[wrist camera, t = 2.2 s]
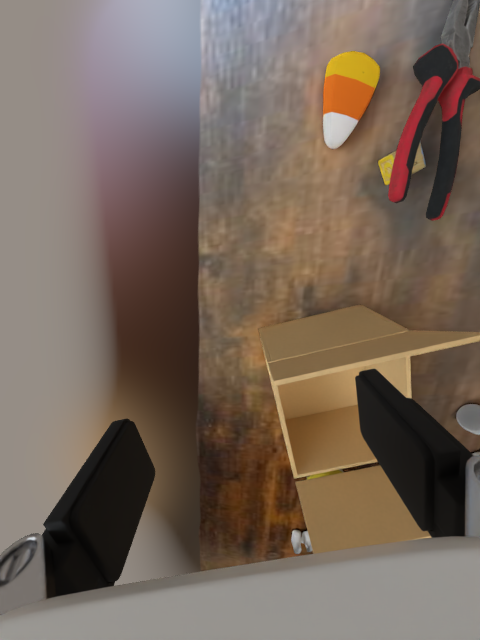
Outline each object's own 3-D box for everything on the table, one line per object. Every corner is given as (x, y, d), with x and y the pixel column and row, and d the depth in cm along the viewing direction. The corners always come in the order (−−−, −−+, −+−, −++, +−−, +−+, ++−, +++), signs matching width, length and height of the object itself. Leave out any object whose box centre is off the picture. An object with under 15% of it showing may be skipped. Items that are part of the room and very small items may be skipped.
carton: (258, 328, 36) (280, 415, 19) (360, 304, 36) (487, 370, 18) (281, 425, 42) (315, 565, 24) (370, 406, 41) (474, 536, 23)
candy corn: (324, 58, 27) (303, 145, 29) (338, 40, 24) (313, 138, 27) (373, 76, 28) (348, 158, 31) (391, 61, 25) (362, 152, 28)
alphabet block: (409, 173, 30) (427, 166, 27) (384, 186, 31) (400, 181, 28) (401, 147, 30) (419, 137, 27) (376, 161, 30) (391, 153, 27)
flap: (268, 366, 26) (267, 363, 26) (413, 333, 25) (413, 330, 25) (274, 386, 17) (273, 380, 18) (493, 338, 17) (491, 332, 17)
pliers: (375, 201, 27) (428, -30, 24) (424, 224, 30) (474, 24, 28) (403, 193, 24) (466, -69, 22) (454, 219, 27) (512, -4, 25)
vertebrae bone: (289, 540, 51) (292, 556, 49) (293, 523, 49) (296, 538, 47) (346, 542, 52) (352, 557, 49) (352, 524, 50) (358, 540, 47)
